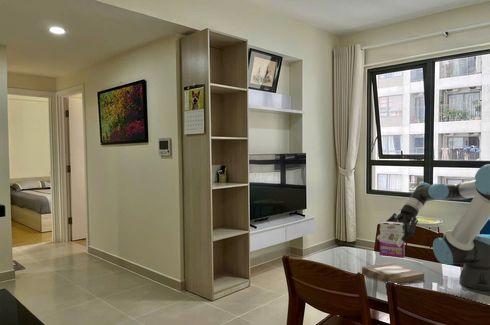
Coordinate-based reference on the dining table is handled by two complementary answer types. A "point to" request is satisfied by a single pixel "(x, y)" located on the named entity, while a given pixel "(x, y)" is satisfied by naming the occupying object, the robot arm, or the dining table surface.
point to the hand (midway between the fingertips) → (387, 242)
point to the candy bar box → (391, 239)
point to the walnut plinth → (393, 273)
